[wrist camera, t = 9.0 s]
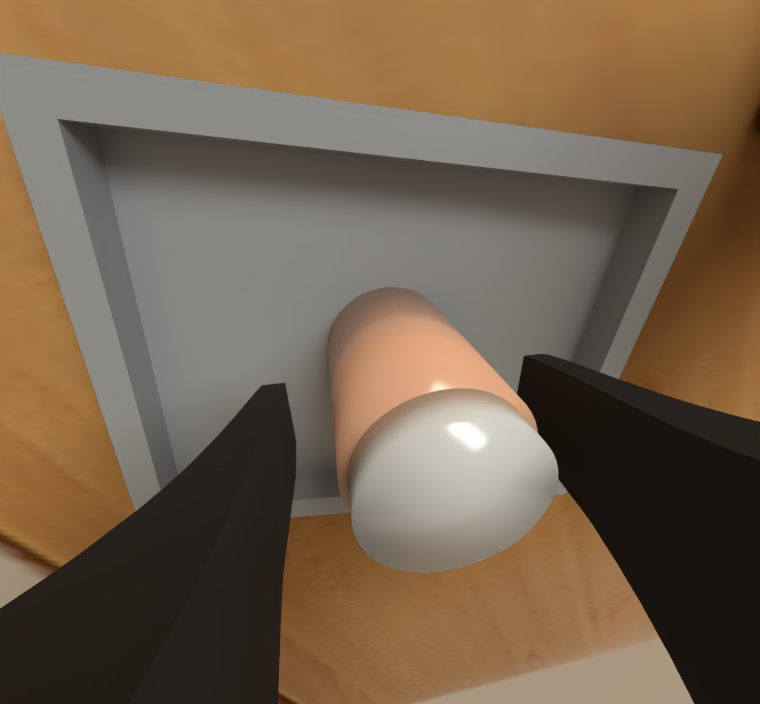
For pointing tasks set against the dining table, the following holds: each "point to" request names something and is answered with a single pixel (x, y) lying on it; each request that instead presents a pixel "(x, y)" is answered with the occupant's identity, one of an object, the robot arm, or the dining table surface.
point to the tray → (319, 244)
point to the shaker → (429, 439)
